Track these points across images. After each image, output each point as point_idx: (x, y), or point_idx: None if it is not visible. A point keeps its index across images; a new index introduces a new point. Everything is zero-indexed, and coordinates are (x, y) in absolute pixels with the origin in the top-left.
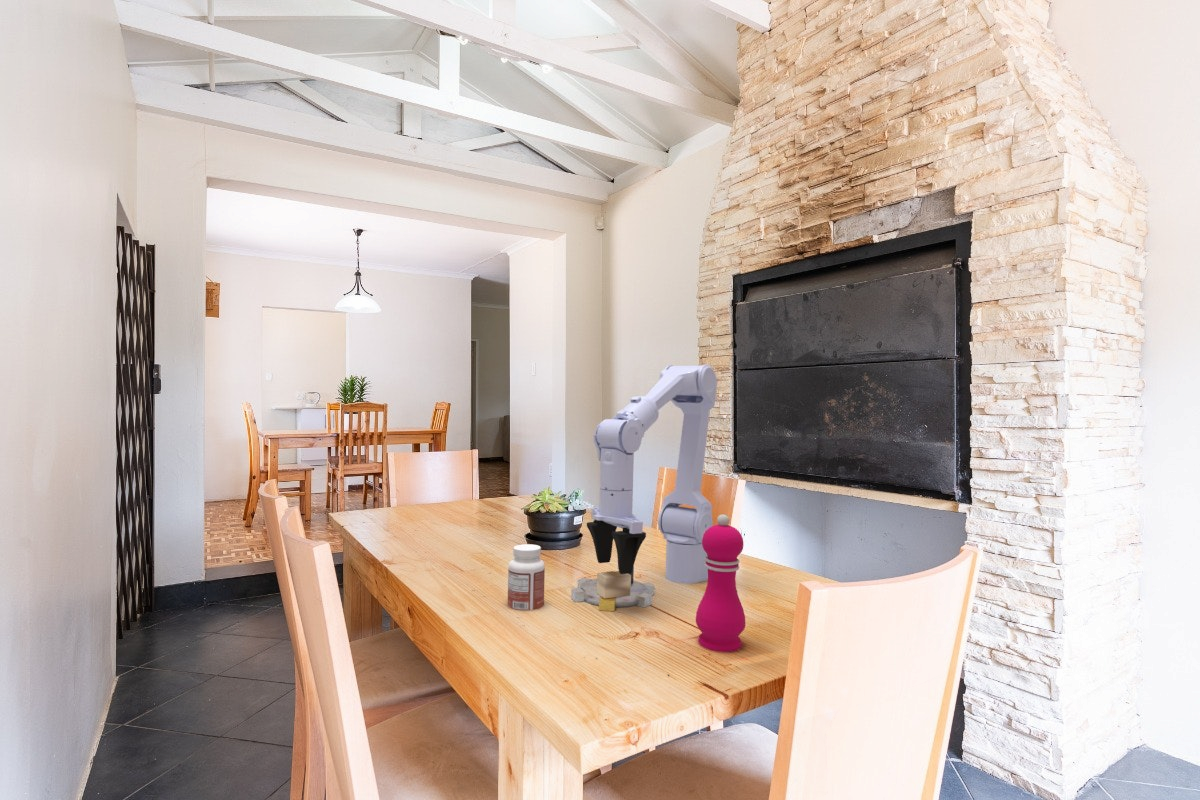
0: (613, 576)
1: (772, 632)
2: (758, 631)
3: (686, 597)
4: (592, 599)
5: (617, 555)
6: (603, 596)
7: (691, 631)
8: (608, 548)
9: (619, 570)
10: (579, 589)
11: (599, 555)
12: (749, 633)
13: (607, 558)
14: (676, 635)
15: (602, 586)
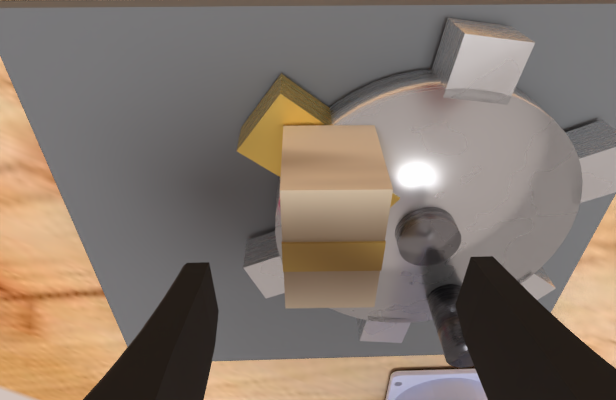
0: (289, 235)
1: (43, 391)
2: (53, 376)
3: (347, 366)
4: (373, 92)
5: (168, 352)
6: (295, 128)
7: (68, 268)
8: (491, 376)
9: (194, 273)
10: (490, 78)
11: (492, 295)
12: (40, 359)
13: (466, 314)
14: (34, 220)
15: (314, 154)
